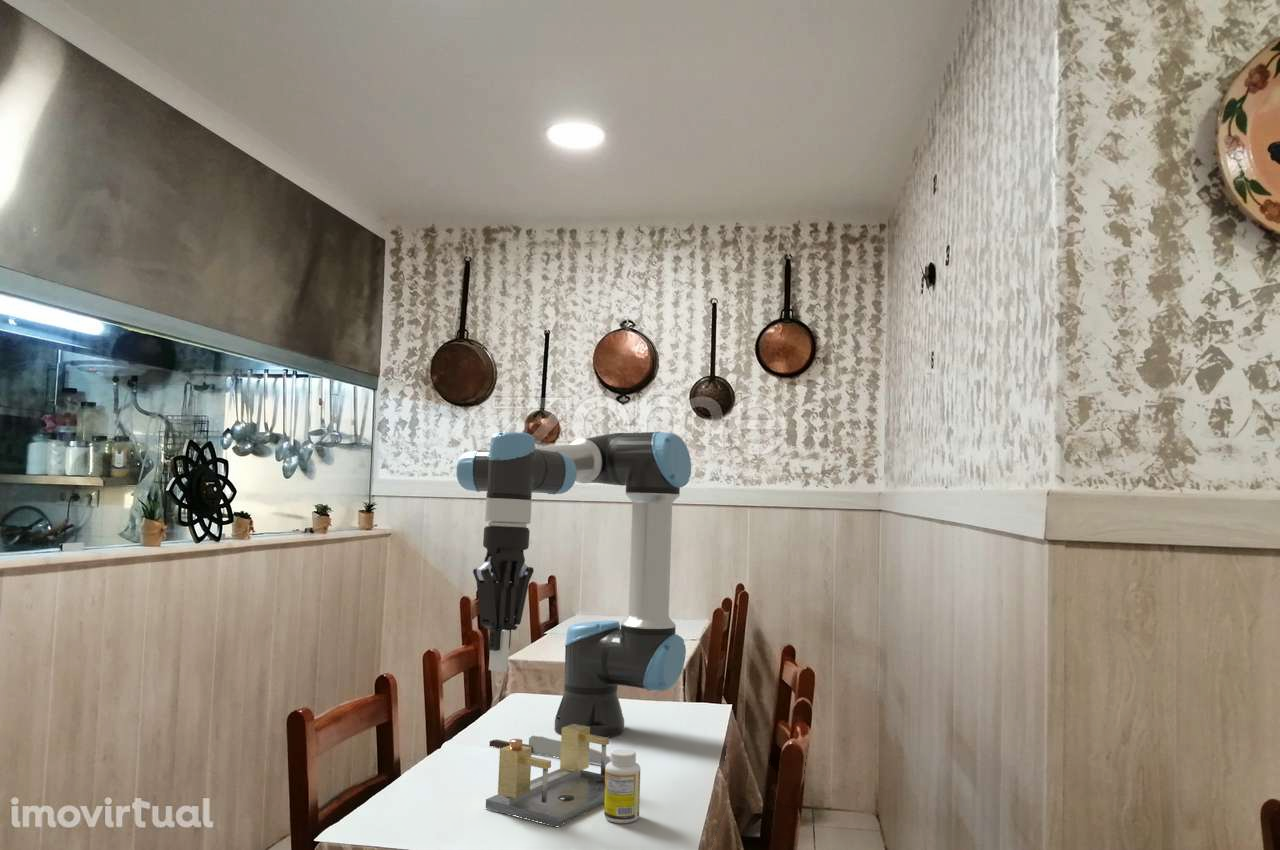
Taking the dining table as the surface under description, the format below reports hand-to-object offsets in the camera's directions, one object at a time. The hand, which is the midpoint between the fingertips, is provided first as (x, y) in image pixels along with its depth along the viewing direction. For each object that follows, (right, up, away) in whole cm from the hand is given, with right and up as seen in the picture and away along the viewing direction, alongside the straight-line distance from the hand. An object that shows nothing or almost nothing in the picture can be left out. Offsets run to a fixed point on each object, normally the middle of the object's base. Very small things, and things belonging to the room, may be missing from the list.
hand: (498, 670), depth 145 cm
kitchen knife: (+7, -25, +27) cm, 37 cm away
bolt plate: (+10, -22, +3) cm, 25 cm away
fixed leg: (+14, -20, +10) cm, 27 cm away
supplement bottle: (+20, -22, -5) cm, 30 cm away
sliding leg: (+5, -19, -4) cm, 20 cm away
